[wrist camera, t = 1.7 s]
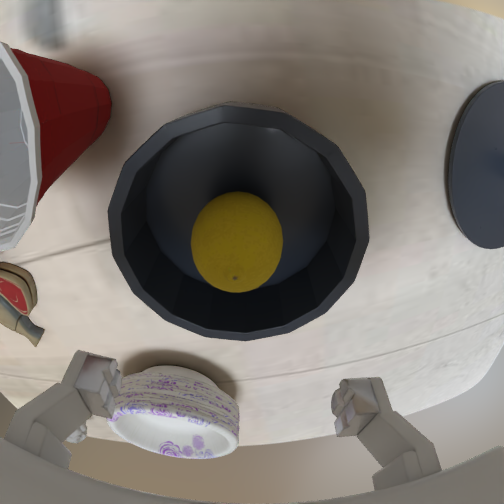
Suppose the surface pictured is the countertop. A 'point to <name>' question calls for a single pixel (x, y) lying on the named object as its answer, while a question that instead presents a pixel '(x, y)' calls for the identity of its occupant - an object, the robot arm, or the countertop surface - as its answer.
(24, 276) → the toy food set
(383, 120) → the countertop surface
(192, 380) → the paper bowls
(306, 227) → the pot
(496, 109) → the lid
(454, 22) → the countertop surface
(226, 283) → the lemon
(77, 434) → the frog figurine
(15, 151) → the plastic cup
